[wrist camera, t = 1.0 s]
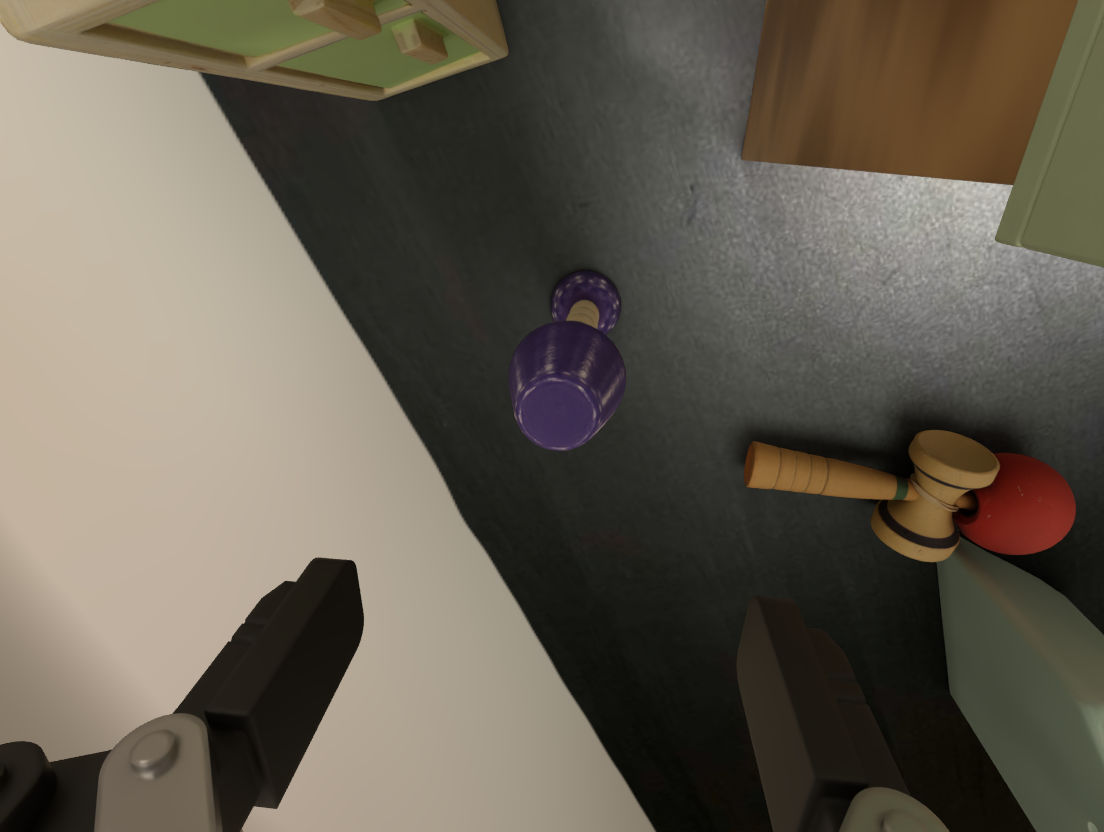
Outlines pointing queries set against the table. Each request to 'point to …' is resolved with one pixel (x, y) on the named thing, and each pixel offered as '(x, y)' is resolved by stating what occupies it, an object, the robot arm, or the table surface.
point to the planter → (1027, 685)
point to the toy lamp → (570, 366)
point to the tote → (1065, 153)
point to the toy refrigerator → (277, 38)
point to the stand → (904, 84)
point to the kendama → (936, 495)
